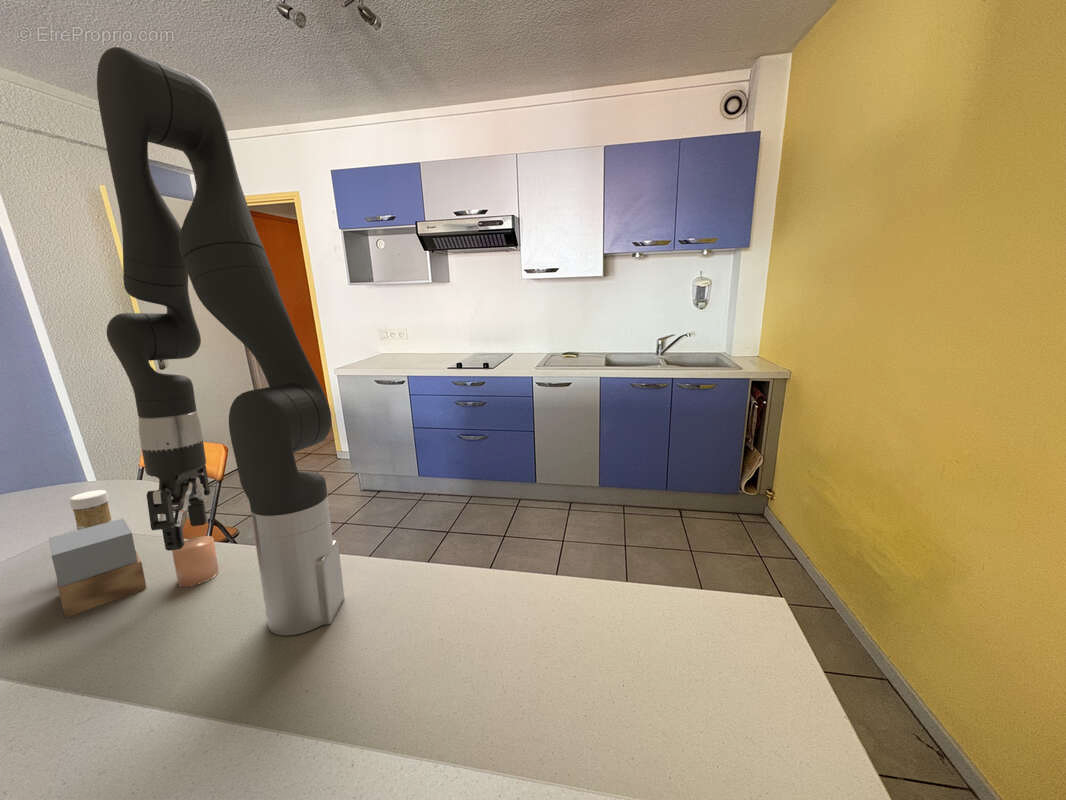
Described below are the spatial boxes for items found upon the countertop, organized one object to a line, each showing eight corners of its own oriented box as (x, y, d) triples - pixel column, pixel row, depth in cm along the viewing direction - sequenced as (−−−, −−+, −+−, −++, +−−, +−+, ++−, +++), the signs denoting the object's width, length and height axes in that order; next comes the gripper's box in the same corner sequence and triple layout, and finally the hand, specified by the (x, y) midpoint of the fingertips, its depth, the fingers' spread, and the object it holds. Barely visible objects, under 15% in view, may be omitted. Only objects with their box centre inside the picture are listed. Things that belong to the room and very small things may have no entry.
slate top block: (128, 545, 74) (123, 518, 73) (137, 561, 68) (131, 532, 67) (55, 567, 67) (48, 537, 66) (59, 587, 62) (51, 555, 61)
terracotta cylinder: (226, 566, 75) (220, 534, 74) (206, 585, 70) (200, 551, 69) (192, 569, 74) (186, 537, 73) (169, 588, 69) (163, 554, 68)
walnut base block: (137, 570, 75) (132, 544, 74) (146, 589, 69) (141, 561, 68) (62, 595, 68) (55, 566, 67) (65, 619, 62) (58, 588, 62)
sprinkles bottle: (117, 566, 76) (102, 495, 74) (81, 575, 73) (64, 501, 71) (123, 555, 80) (109, 487, 77) (89, 563, 77) (74, 492, 75)
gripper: (179, 451, 62) (196, 554, 65) (218, 429, 75) (230, 514, 78) (115, 456, 60) (135, 562, 63) (167, 432, 73) (181, 520, 76)
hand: (188, 536), depth 71 cm, fingers open, 8 cm apart
